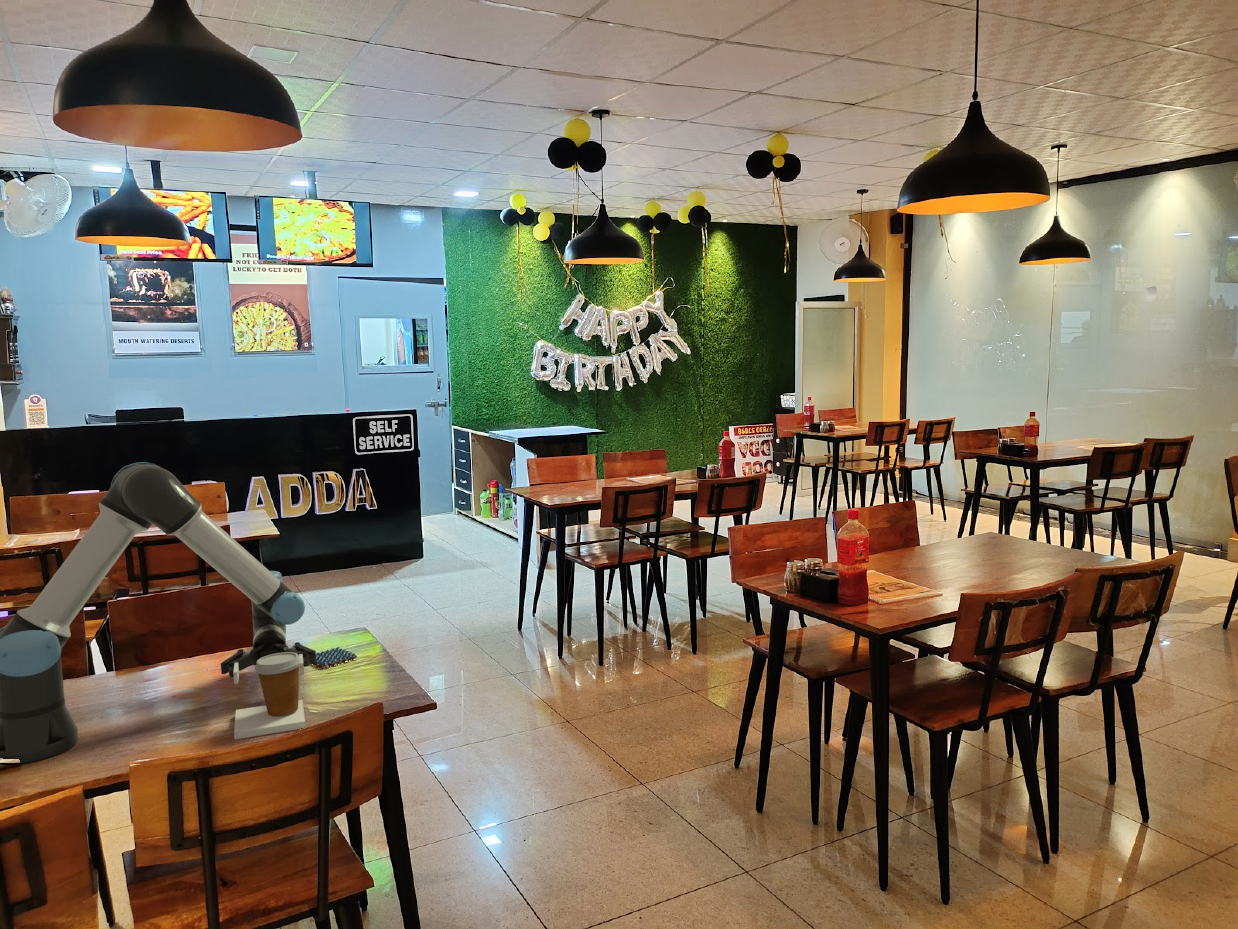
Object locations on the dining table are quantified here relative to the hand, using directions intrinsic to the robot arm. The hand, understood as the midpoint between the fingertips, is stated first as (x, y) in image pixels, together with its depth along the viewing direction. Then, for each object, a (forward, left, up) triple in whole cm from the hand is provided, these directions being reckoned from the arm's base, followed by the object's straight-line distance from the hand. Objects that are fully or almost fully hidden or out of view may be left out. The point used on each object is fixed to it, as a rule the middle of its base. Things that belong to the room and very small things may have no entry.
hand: (269, 673), depth 191 cm
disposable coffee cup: (+2, -1, -9) cm, 9 cm away
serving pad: (0, -3, -10) cm, 10 cm away
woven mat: (+15, +33, -11) cm, 38 cm away
